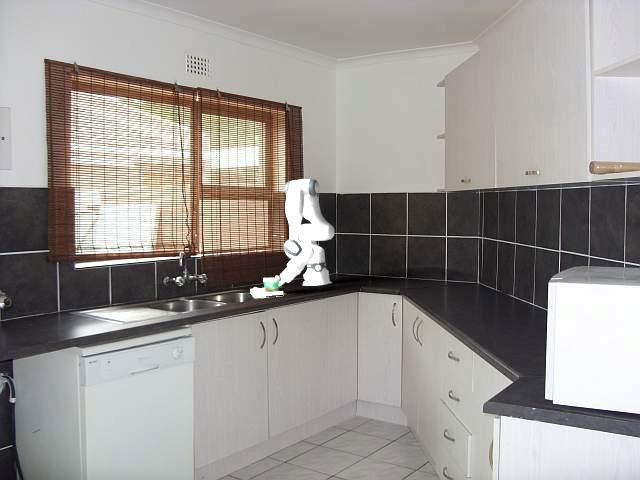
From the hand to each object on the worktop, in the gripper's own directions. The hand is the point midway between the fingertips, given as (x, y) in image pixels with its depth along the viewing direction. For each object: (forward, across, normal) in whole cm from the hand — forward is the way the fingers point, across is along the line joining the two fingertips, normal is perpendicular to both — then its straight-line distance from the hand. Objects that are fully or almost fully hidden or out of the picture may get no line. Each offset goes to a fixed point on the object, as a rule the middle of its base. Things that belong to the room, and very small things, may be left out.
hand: (278, 285), depth 376 cm
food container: (+5, 0, +2) cm, 6 cm away
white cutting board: (+8, 0, -1) cm, 8 cm away
